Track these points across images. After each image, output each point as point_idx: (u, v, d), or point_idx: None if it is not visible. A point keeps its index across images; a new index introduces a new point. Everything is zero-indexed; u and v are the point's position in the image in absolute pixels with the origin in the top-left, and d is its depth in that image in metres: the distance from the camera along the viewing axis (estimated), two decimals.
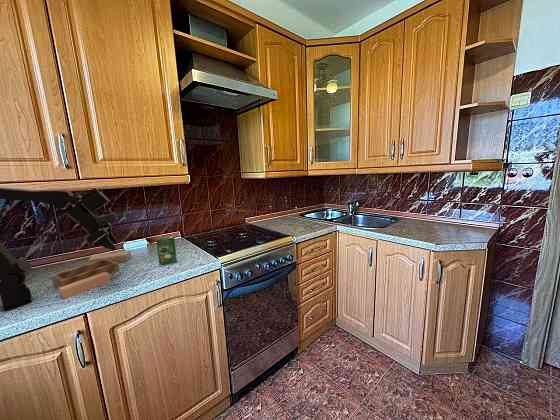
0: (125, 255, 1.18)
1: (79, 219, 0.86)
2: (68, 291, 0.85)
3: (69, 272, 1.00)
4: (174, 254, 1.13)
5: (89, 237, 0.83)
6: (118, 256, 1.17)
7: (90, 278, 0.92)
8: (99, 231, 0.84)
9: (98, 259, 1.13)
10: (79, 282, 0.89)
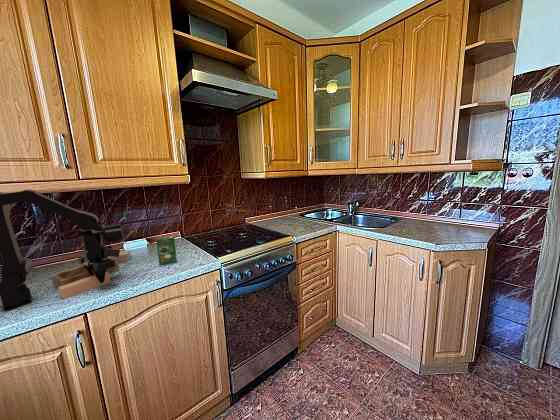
0: (126, 255, 1.19)
1: (89, 246, 0.89)
2: (67, 291, 0.85)
3: (69, 272, 1.00)
4: (174, 254, 1.13)
5: (101, 265, 0.87)
6: (119, 256, 1.17)
7: (90, 277, 0.92)
8: (112, 262, 0.90)
9: None
10: (79, 281, 0.89)
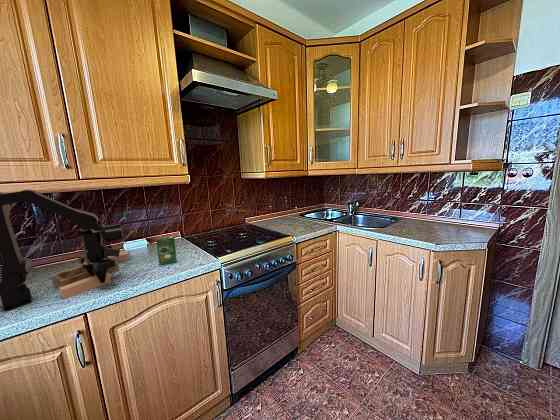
0: (126, 255, 1.19)
1: (89, 245, 0.89)
2: (68, 291, 0.85)
3: (69, 272, 1.00)
4: (174, 254, 1.13)
5: (102, 265, 0.87)
6: (119, 256, 1.17)
7: (90, 278, 0.92)
8: (112, 262, 0.90)
9: None
10: (79, 282, 0.89)
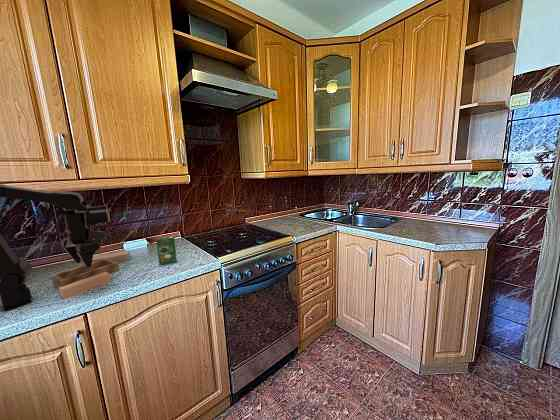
0: (127, 254, 1.19)
1: (71, 226, 0.85)
2: (68, 291, 0.85)
3: (69, 272, 1.00)
4: (174, 254, 1.13)
5: (85, 246, 0.82)
6: (120, 256, 1.17)
7: (90, 278, 0.92)
8: (96, 244, 0.85)
9: (99, 259, 1.13)
10: (79, 282, 0.89)
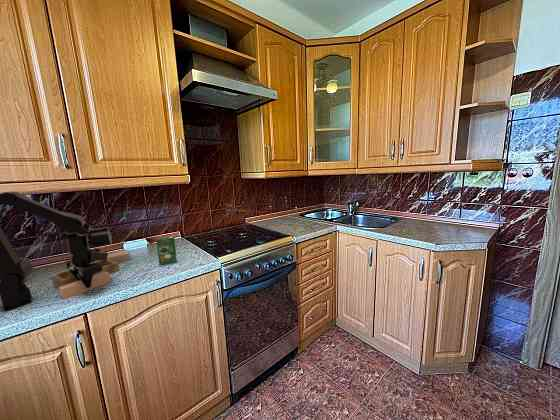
0: (127, 254, 1.19)
1: (73, 249, 0.86)
2: (68, 291, 0.85)
3: (69, 272, 1.00)
4: (174, 254, 1.13)
5: (87, 269, 0.83)
6: (120, 255, 1.18)
7: None
8: (99, 266, 0.86)
9: None
10: (79, 282, 0.89)
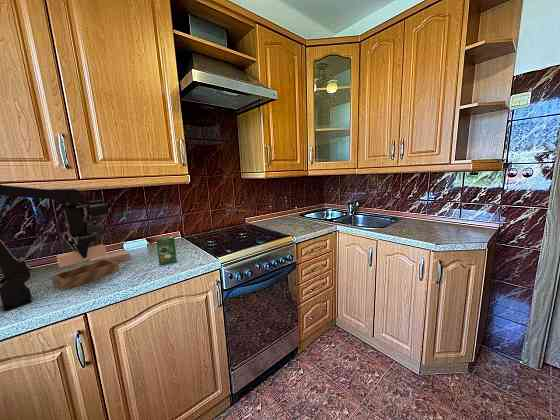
0: (128, 254, 1.20)
1: (73, 220, 0.90)
2: (65, 259, 0.89)
3: (69, 272, 1.00)
4: (174, 254, 1.13)
5: (82, 238, 0.87)
6: (121, 255, 1.18)
7: None
8: (93, 236, 0.90)
9: (100, 259, 1.13)
10: (76, 251, 0.93)
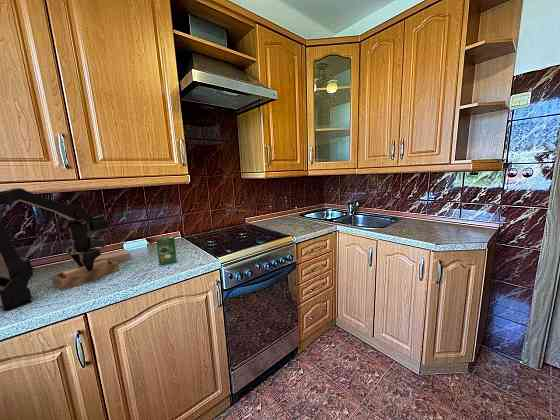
0: (128, 254, 1.20)
1: (80, 235, 0.97)
2: (70, 275, 0.95)
3: None
4: (174, 254, 1.13)
5: (87, 254, 0.94)
6: (121, 255, 1.18)
7: None
8: (97, 251, 0.97)
9: (101, 259, 1.13)
10: (80, 268, 0.99)
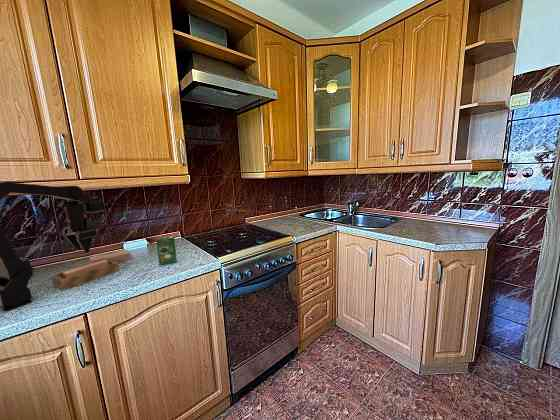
0: (129, 253, 1.21)
1: (76, 215, 0.95)
2: (70, 275, 0.95)
3: None
4: (174, 254, 1.13)
5: (83, 233, 0.92)
6: (122, 255, 1.18)
7: (90, 265, 1.03)
8: (94, 231, 0.95)
9: (102, 259, 1.13)
10: (80, 268, 0.99)
